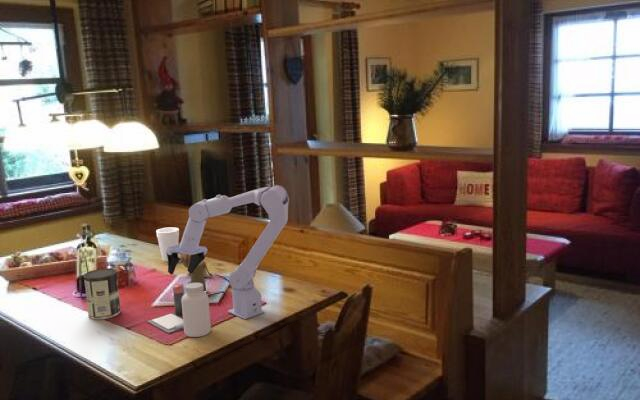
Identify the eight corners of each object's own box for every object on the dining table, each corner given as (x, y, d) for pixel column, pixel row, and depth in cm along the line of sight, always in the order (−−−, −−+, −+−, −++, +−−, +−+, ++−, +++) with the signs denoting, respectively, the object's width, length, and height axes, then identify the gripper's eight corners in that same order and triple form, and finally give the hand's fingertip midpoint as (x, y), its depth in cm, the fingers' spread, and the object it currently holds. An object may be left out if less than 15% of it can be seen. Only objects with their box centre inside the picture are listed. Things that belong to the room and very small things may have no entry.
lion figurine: (177, 275, 227) (175, 253, 225) (184, 271, 232) (182, 250, 230) (209, 279, 222) (208, 256, 220) (216, 274, 227) (215, 252, 225)
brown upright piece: (209, 289, 210) (207, 261, 208) (204, 295, 204) (202, 266, 202) (193, 289, 211) (190, 260, 209) (187, 295, 205) (185, 266, 203)
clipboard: (194, 324, 179) (194, 320, 179) (168, 333, 173) (168, 329, 173) (172, 313, 189) (172, 310, 188) (147, 322, 182) (147, 318, 182)
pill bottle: (199, 324, 180) (196, 279, 177) (216, 331, 174) (213, 284, 172) (178, 333, 174) (174, 286, 171) (195, 340, 168) (192, 291, 166)
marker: (187, 313, 189) (185, 285, 187) (178, 316, 187) (176, 288, 185) (181, 310, 191) (179, 283, 189) (172, 313, 189) (170, 286, 187)
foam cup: (169, 263, 243) (167, 233, 240) (154, 260, 248) (151, 231, 245) (185, 257, 251) (183, 228, 248) (170, 254, 256) (168, 226, 253)
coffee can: (113, 305, 197) (109, 266, 195) (125, 313, 190) (121, 273, 187) (83, 313, 191) (78, 273, 188) (94, 322, 183) (90, 280, 180)
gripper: (204, 230, 195) (192, 265, 198) (166, 230, 184) (155, 267, 187) (215, 240, 190) (202, 276, 194) (177, 240, 180) (165, 278, 183)
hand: (180, 272), depth 190 cm, fingers open, 7 cm apart
